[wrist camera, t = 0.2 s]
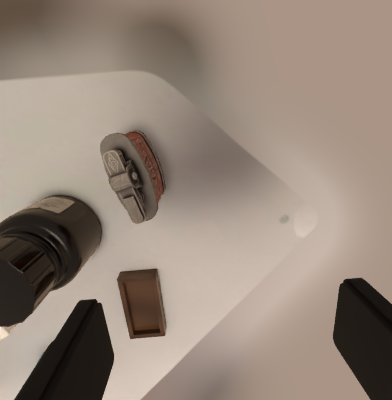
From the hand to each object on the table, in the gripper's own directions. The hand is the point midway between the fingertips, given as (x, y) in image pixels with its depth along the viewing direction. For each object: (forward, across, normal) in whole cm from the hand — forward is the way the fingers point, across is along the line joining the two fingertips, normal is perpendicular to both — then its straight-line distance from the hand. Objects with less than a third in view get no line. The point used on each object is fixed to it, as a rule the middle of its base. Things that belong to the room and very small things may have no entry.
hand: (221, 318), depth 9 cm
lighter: (+20, +6, -3) cm, 22 cm away
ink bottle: (+20, +17, +4) cm, 27 cm away
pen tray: (+20, +9, +16) cm, 27 cm away
